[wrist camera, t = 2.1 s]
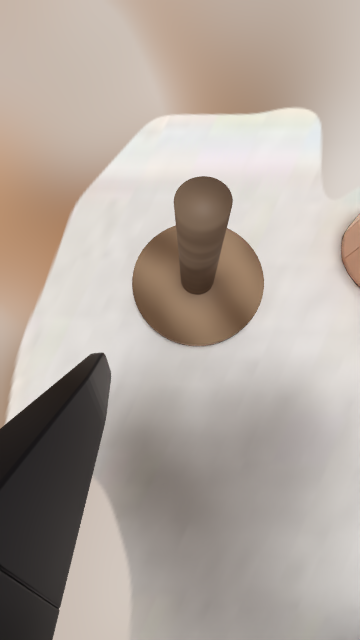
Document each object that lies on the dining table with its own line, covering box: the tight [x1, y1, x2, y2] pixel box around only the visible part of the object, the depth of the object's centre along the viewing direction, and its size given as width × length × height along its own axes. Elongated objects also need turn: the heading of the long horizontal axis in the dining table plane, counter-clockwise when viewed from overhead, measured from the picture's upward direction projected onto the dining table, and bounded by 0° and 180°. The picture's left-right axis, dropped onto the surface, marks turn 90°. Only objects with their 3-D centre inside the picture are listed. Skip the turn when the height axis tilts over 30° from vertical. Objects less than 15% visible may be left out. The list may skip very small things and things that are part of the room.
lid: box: [132, 176, 264, 346], centre depth 18 cm, size 12×12×11 cm
